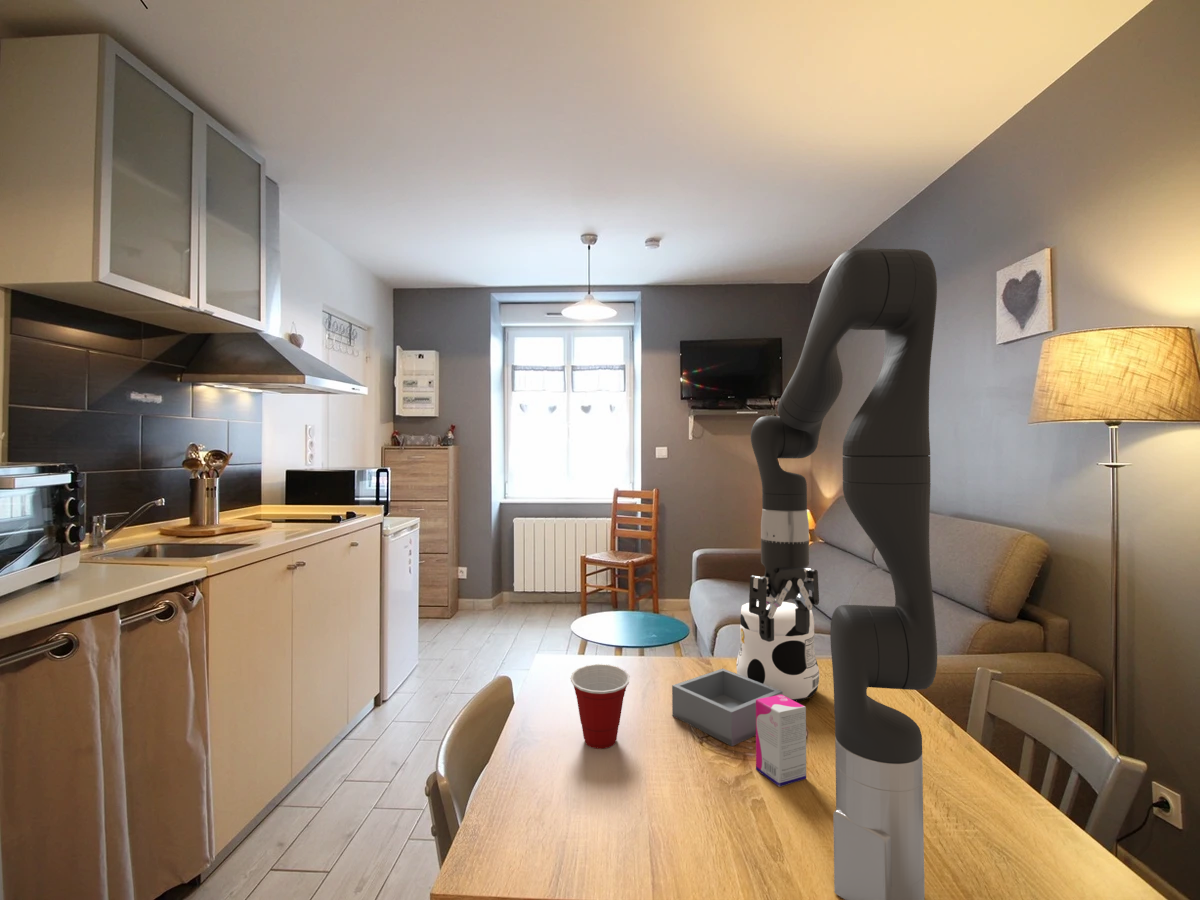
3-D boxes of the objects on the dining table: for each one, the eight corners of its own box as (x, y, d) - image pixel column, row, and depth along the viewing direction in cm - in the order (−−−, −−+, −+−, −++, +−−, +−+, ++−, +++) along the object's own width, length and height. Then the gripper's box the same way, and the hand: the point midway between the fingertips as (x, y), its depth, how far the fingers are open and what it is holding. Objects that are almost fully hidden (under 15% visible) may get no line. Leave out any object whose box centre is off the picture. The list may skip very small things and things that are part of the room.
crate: (731, 746, 99) (731, 712, 99) (672, 715, 111) (672, 685, 111) (782, 722, 108) (782, 691, 108) (722, 696, 120) (722, 668, 120)
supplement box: (808, 778, 89) (807, 706, 89) (779, 787, 86) (778, 713, 87) (782, 761, 94) (781, 692, 94) (754, 769, 92) (753, 698, 92)
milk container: (729, 676, 131) (729, 599, 132) (804, 676, 131) (803, 599, 131) (746, 708, 114) (745, 620, 115) (832, 709, 113) (830, 620, 114)
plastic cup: (572, 759, 95) (571, 688, 95) (569, 729, 106) (569, 665, 106) (635, 755, 96) (634, 685, 96) (625, 726, 107) (625, 663, 107)
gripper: (773, 543, 85) (773, 650, 85) (831, 536, 92) (832, 635, 92) (736, 537, 91) (737, 637, 91) (794, 531, 99) (795, 623, 98)
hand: (785, 635), depth 92 cm, fingers open, 8 cm apart
